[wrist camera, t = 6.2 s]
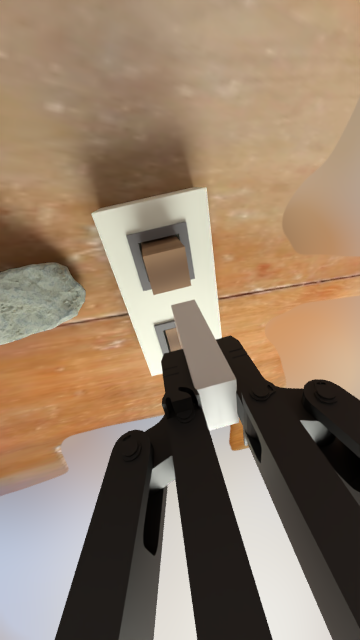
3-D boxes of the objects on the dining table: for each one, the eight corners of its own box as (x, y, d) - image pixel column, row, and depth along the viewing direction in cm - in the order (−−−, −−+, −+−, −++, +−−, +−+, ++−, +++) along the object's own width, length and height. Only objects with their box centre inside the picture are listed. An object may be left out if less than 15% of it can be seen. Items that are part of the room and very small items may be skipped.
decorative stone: (-18, 319, 31) (2, 371, 27) (-80, 255, 23) (-64, 317, 19) (71, 285, 37) (99, 324, 33) (49, 225, 29) (83, 267, 25)
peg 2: (161, 310, 36) (165, 330, 30) (184, 304, 36) (192, 323, 31) (166, 329, 38) (171, 351, 33) (188, 324, 38) (196, 345, 33)
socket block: (99, 208, 27) (90, 213, 21) (193, 187, 27) (207, 187, 22) (149, 352, 40) (152, 377, 34) (212, 335, 40) (224, 358, 35)
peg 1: (141, 242, 25) (142, 256, 20) (174, 234, 25) (184, 246, 20) (150, 275, 27) (153, 295, 22) (181, 267, 27) (191, 285, 22)
